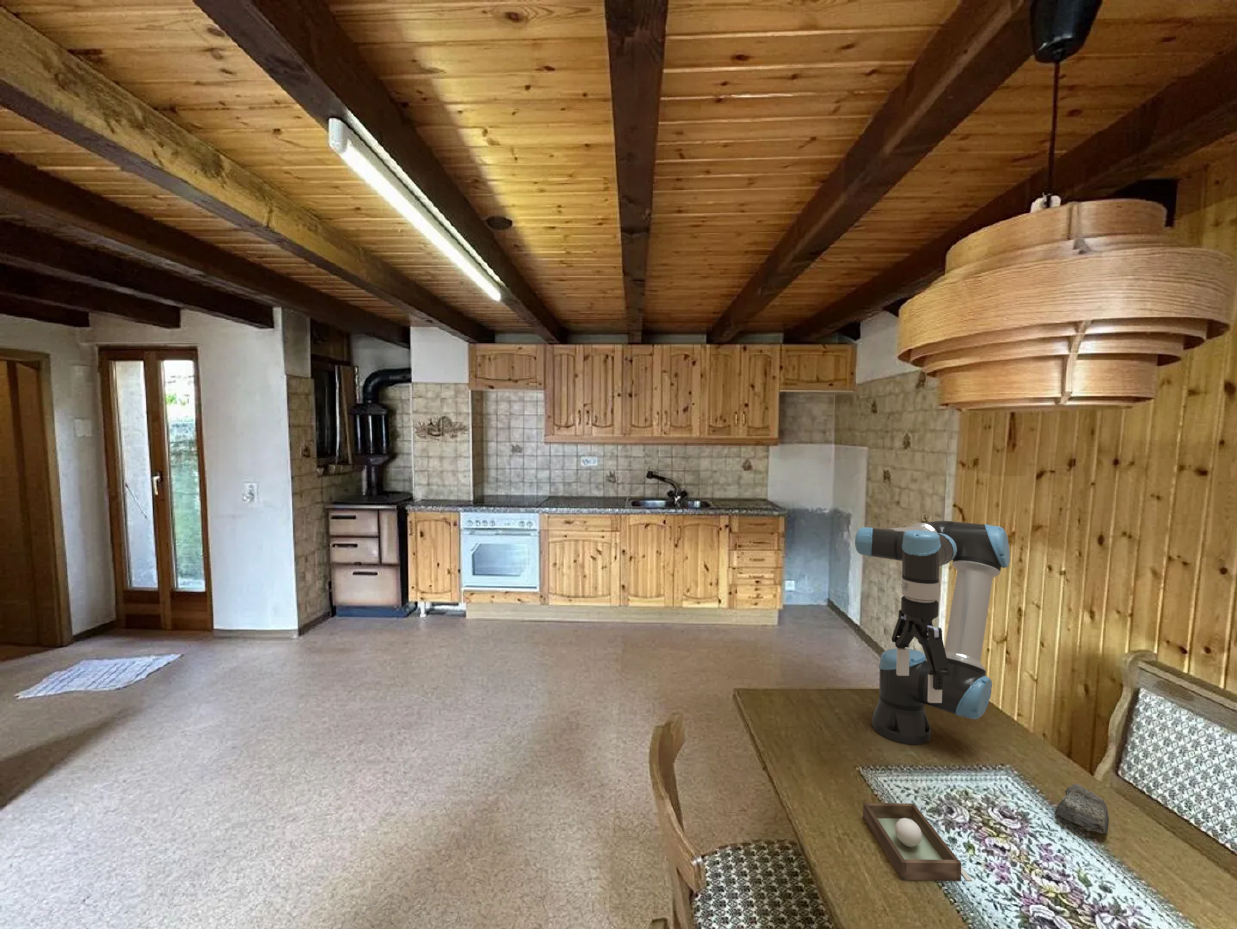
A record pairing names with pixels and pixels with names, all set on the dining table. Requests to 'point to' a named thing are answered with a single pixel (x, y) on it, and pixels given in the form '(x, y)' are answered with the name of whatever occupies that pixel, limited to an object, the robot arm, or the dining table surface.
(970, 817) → the dining table surface
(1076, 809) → the rock
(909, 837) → the cream egg
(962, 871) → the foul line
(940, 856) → the brown wooden tray
